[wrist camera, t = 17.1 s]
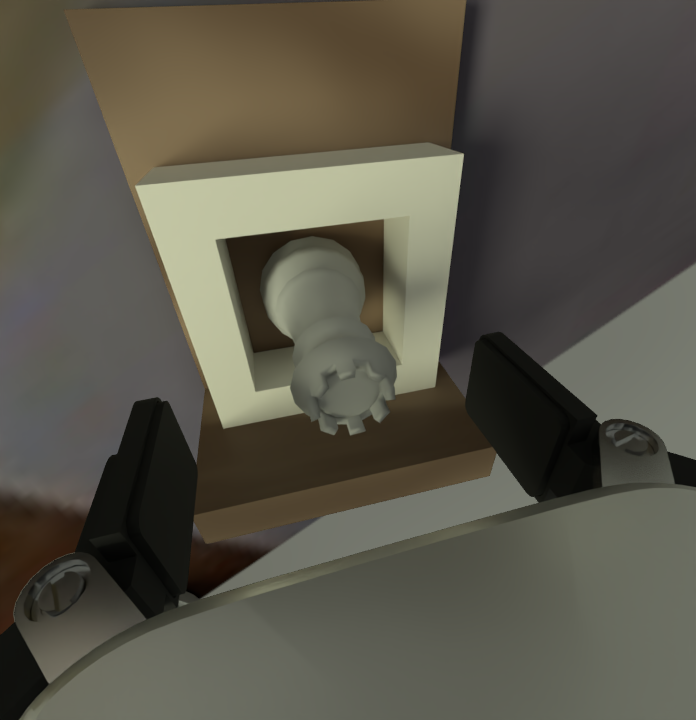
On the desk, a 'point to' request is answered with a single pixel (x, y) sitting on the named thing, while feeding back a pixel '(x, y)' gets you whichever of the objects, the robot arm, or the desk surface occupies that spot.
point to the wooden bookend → (251, 253)
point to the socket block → (300, 211)
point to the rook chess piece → (328, 334)
